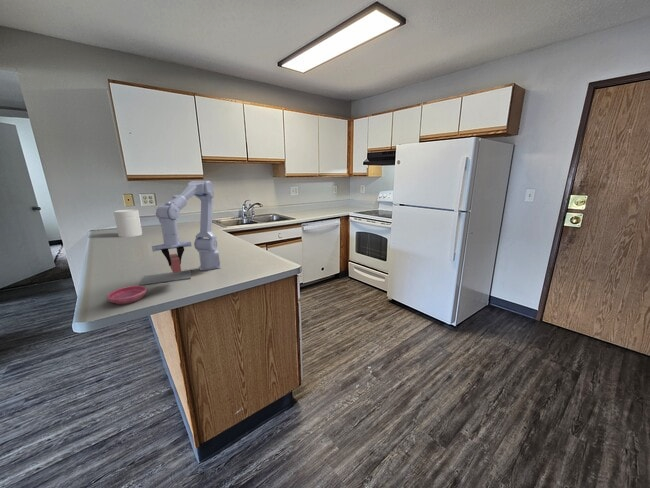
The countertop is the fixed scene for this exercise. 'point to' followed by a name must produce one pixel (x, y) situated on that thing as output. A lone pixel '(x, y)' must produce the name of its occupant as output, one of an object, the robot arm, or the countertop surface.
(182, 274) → the mat
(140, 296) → the saucer
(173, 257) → the box
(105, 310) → the countertop surface
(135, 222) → the canister
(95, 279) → the countertop surface
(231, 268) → the countertop surface
